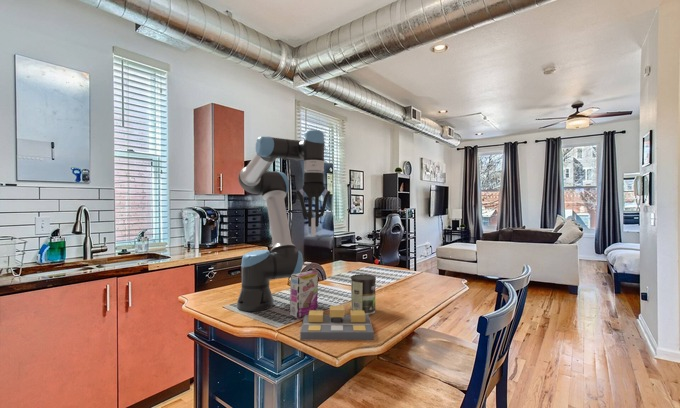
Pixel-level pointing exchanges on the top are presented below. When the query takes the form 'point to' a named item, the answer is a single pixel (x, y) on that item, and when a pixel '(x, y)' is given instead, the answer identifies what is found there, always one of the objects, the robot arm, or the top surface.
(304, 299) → the candy bar box
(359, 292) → the coffee can
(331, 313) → the button
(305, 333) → the board
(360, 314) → the button
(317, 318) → the button
